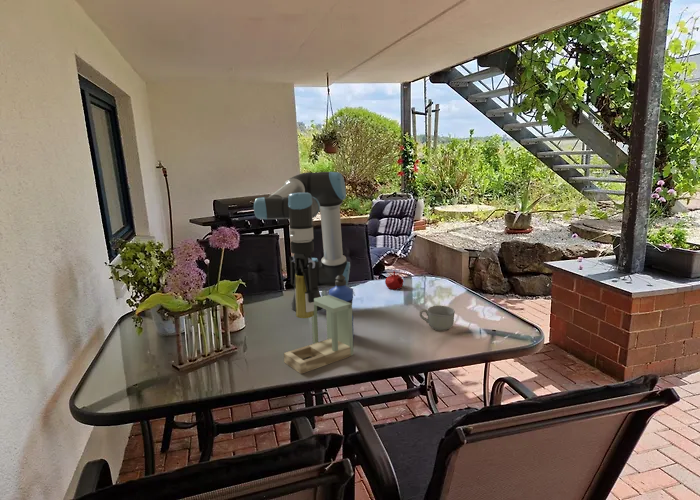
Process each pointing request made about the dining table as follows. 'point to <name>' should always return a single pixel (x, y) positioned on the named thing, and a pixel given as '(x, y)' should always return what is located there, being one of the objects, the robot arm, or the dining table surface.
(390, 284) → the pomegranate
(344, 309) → the pale green stool
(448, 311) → the teacup
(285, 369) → the dining table surface
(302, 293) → the vase
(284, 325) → the dining table surface
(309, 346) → the socket block
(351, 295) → the water bottle
